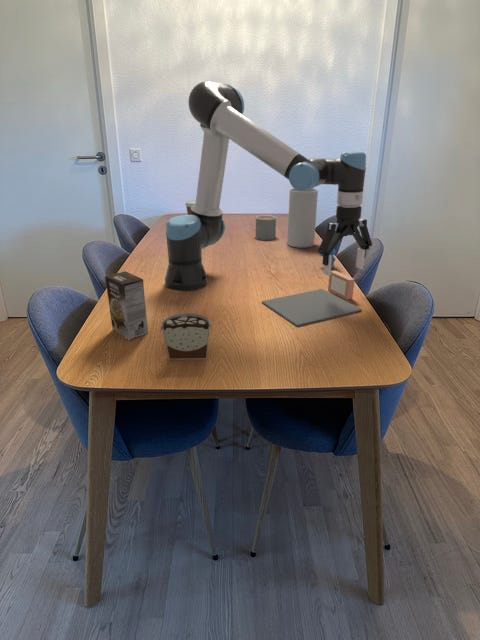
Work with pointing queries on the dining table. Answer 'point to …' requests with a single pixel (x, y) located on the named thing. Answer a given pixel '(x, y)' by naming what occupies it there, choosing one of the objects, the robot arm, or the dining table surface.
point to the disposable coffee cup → (189, 205)
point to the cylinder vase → (302, 218)
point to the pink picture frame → (341, 285)
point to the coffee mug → (265, 227)
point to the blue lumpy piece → (332, 257)
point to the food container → (186, 336)
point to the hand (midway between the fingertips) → (343, 271)
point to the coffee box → (127, 304)
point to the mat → (310, 307)
